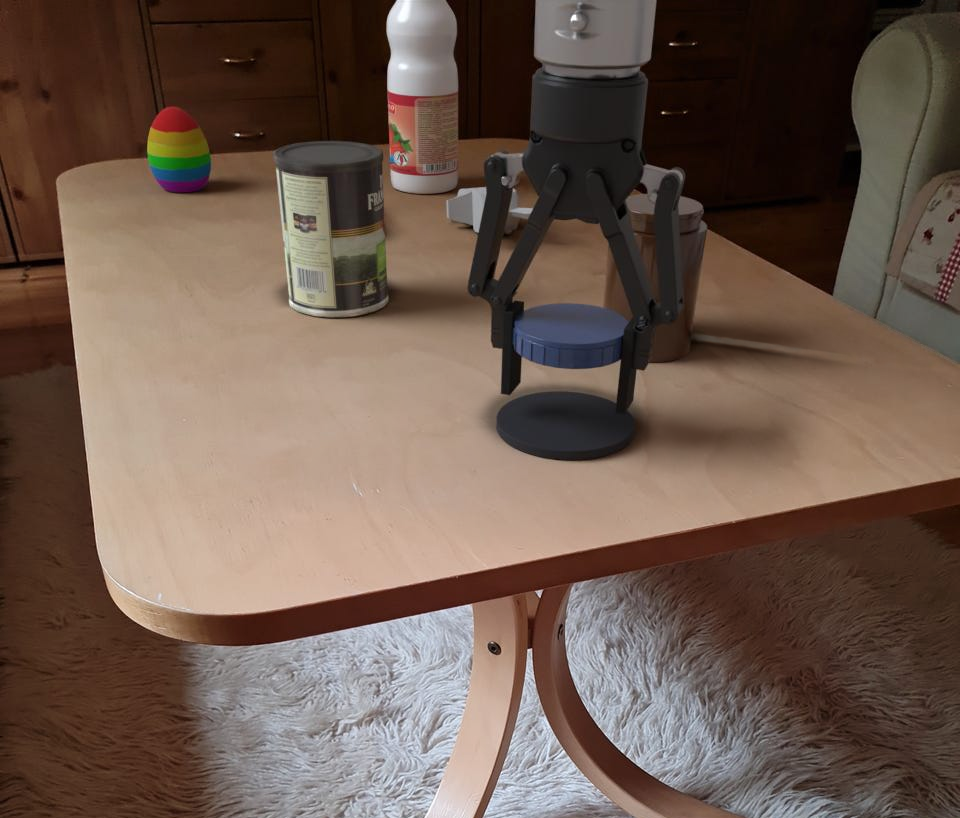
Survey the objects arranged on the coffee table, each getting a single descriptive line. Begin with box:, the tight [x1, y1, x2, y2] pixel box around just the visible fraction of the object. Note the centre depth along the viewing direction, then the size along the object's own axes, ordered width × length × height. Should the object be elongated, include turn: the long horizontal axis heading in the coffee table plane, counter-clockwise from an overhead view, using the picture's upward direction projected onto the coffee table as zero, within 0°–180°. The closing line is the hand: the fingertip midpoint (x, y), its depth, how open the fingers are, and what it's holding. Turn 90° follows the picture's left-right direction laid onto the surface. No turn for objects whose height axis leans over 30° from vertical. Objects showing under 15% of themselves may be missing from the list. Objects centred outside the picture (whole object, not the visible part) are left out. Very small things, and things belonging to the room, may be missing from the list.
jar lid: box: [513, 302, 629, 370], centre depth 76 cm, size 9×9×2 cm
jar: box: [602, 193, 708, 363], centre depth 91 cm, size 8×8×13 cm
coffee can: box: [272, 140, 390, 318], centre depth 99 cm, size 10×10×14 cm
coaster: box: [495, 390, 636, 461], centre depth 80 cm, size 11×11×1 cm
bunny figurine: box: [445, 186, 534, 235], centre depth 123 cm, size 10×5×15 cm
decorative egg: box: [146, 106, 212, 194], centre depth 136 cm, size 8×8×10 cm
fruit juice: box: [385, 0, 459, 195], centre depth 133 cm, size 9×9×28 cm
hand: (566, 397), depth 79 cm, fingers closed on jar lid, 8 cm apart
